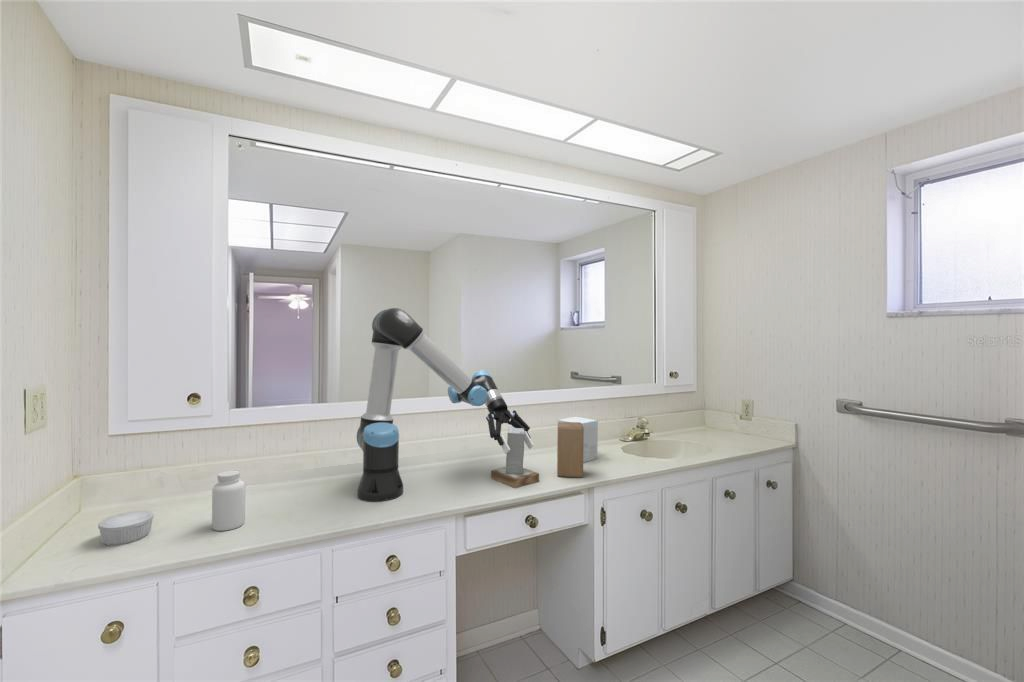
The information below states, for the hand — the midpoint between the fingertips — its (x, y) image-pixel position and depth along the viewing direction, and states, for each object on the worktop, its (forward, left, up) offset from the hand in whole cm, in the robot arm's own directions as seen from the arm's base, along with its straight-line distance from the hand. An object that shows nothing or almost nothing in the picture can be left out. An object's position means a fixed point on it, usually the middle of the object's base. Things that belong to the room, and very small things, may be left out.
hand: (519, 449), depth 165 cm
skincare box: (0, +3, -9) cm, 9 cm away
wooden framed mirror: (0, +3, -12) cm, 12 cm away
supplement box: (+42, +9, -12) cm, 45 cm away
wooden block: (+22, -5, -12) cm, 26 cm away
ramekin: (-112, +30, -12) cm, 117 cm away
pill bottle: (-90, +22, -12) cm, 93 cm away
